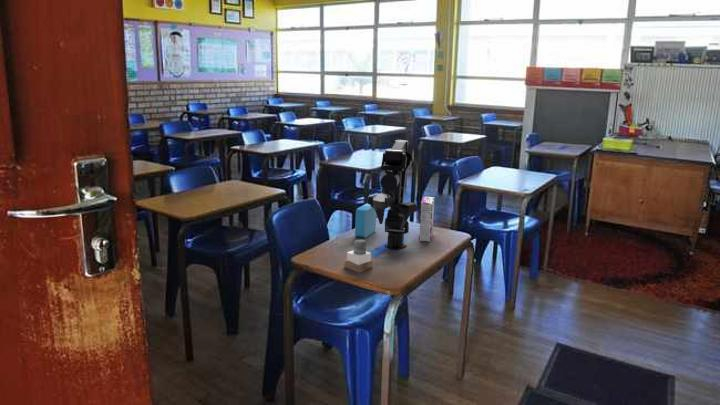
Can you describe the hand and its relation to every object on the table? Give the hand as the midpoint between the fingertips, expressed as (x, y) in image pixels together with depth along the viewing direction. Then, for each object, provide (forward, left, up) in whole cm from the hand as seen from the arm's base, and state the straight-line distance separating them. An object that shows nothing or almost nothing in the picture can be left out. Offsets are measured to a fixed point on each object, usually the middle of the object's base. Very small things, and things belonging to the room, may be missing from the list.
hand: (390, 226), depth 193 cm
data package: (-17, -27, -13) cm, 34 cm away
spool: (+13, -3, -7) cm, 15 cm away
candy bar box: (-32, -6, -13) cm, 35 cm away
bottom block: (+13, -4, -13) cm, 19 cm away
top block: (+13, -3, -10) cm, 17 cm away
